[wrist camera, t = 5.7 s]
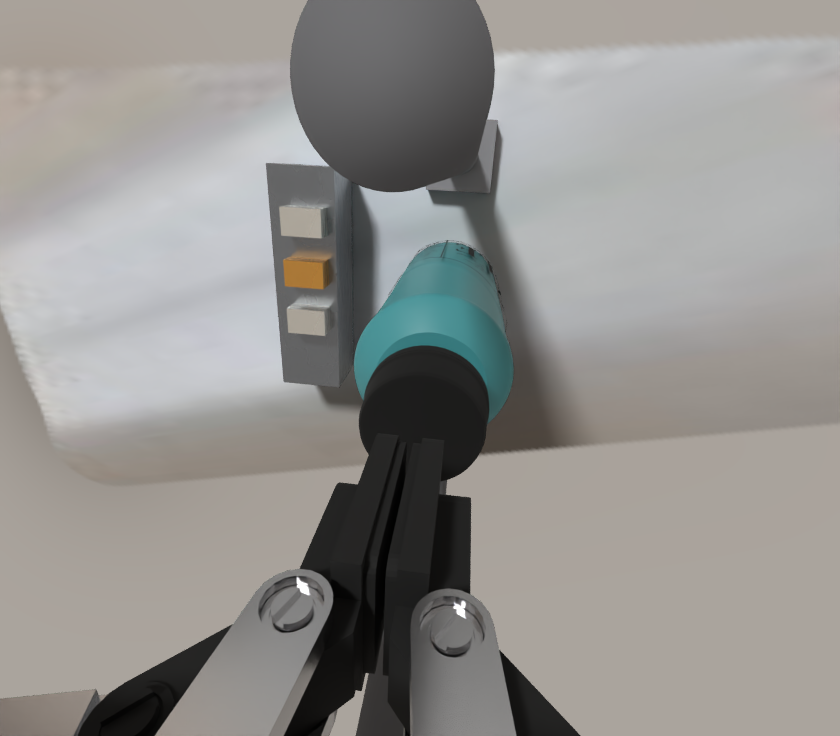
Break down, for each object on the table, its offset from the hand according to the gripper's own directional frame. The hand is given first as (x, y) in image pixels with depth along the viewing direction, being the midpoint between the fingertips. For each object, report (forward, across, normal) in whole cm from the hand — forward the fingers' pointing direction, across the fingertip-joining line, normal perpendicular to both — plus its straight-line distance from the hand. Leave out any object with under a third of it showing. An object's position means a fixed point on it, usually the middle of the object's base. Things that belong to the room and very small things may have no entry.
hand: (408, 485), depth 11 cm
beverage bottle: (+22, 0, 0) cm, 22 cm away
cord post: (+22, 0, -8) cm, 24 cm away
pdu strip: (+22, +9, 0) cm, 24 cm away
